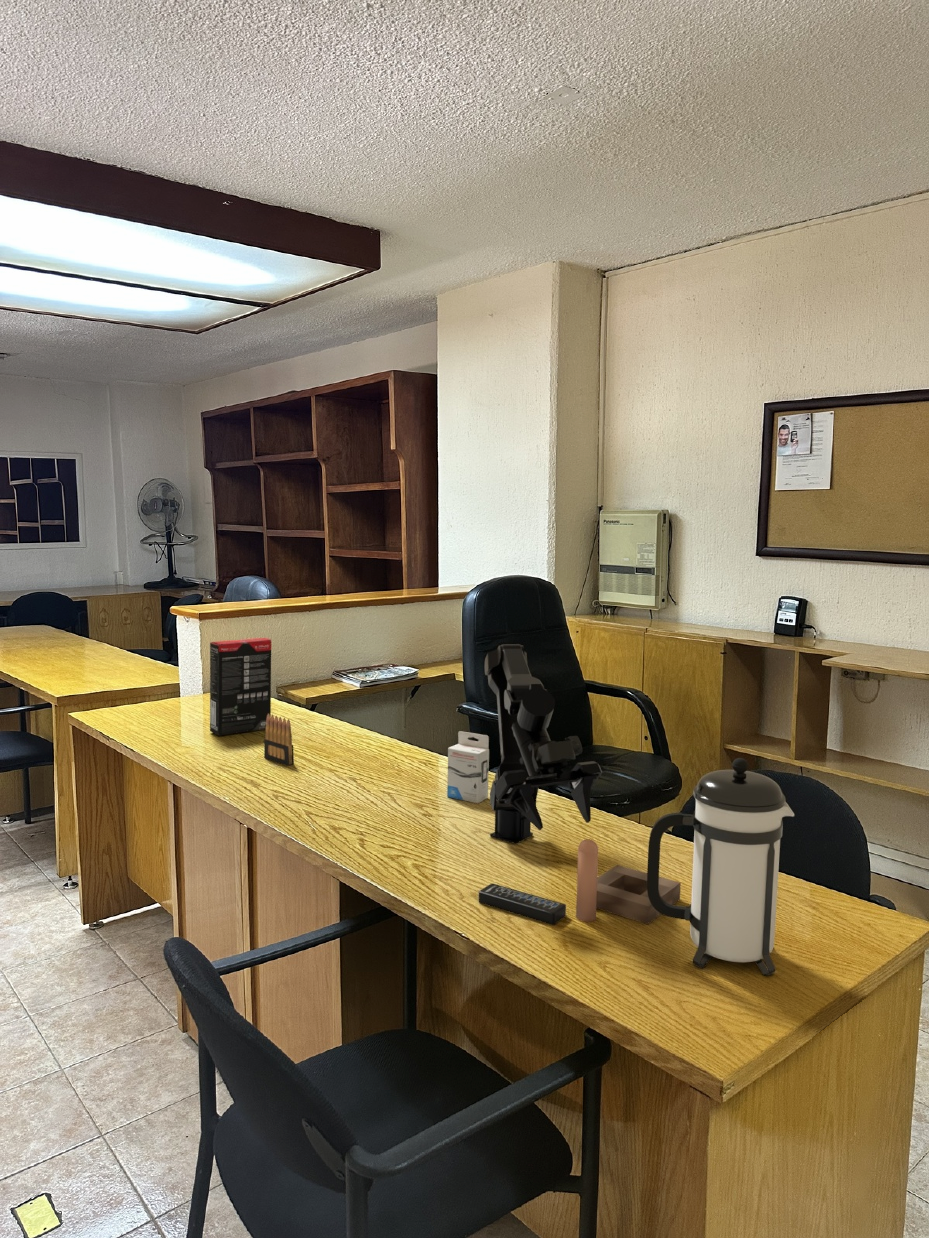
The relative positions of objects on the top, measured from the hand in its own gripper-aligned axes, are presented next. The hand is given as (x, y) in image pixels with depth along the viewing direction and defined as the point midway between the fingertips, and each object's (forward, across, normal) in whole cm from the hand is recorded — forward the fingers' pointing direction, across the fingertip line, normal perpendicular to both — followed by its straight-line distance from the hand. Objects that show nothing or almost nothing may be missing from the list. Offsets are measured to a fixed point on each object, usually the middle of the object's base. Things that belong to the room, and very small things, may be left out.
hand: (565, 825), depth 149 cm
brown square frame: (+13, +10, +6) cm, 17 cm away
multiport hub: (+10, -8, +9) cm, 16 cm away
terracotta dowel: (+14, 0, +4) cm, 15 cm away
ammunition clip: (-62, -26, +81) cm, 105 cm away
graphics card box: (-88, -29, +106) cm, 141 cm away
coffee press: (+28, +12, -9) cm, 31 cm away
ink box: (-30, +7, +49) cm, 58 cm away
